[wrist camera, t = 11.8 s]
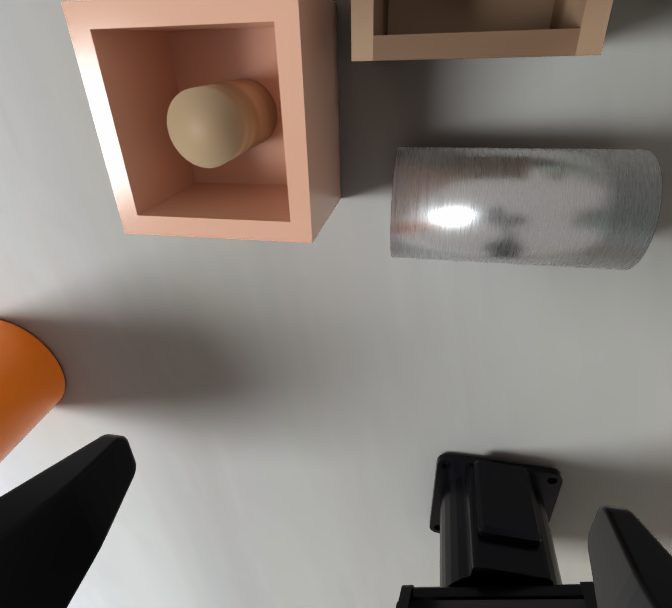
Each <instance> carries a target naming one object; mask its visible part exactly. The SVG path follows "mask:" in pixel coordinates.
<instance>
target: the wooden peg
mask: <svg viewBox="0 0 672 608" xmlns="http://www.w3.org/2000/svg"><path fill="white" fill-rule="evenodd" d="M276 123H277V108H276V104H275V101H274V99H273V97H272V95H271V94H270V92H269V91H268V90H267V89H266V88H265V87H264V86H263V85H262V84H260V83H259V82H257V81H254V80H251V79H237V80H232V81H226V82H221V83H216V84H210V85H205V86H199V87H194V88H189V89H186V90H184V91H182V92H180V93H179V94H178V95H176V96H175V98H174V99H173V100H172V102H171V104H170V106H169V109H168V113H167V128H168V132H169V136H170V138H171V141H172V143H173V145H174V146H175V148H176V149H177V151H178V152H179V153H180V154H181V155H182V156H183V157H184V158H185V159H186V160H188V161H189V162H191V163H192V164H194V165H197V166H199V167H204V168H214V167H218V166H221V165H223V164H225V163H226V162H228V161H230V160H232V159H233V158H235V157H237V156H239V155H241V154H242V153H244V152H246V151H248V150H249V149H251V148H253V147H255V146H257V145H258V144H260V143H262V142H264V141H265V140H267V139H268V138H269V137H270V136H271V135H272V133H273V131H274V129H275V127H276Z"/></svg>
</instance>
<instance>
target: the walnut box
mask: <svg viewBox="0 0 672 608" xmlns="http://www.w3.org/2000/svg"><path fill="white" fill-rule="evenodd" d="M612 4H613V0H351V61H383V60H423V59H463V58H503V57H542V56H582V55H601V52H602V47H603V43H604V39H605V34H606V30H607V26H608V22H609V17H610V13H611V9H612Z"/></svg>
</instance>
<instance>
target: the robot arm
mask: <svg viewBox="0 0 672 608" xmlns="http://www.w3.org/2000/svg"><path fill="white" fill-rule="evenodd" d="M445 463H448V464H445ZM135 471H136V462H135V459H134V456H133V453H132V451H131V448H130V445H129V442H128V440H127V439H126V438H125V437H124V436H119V435H112V434H107V435H103V436H101V437H100V438H98V439H96V440H94V441H93V442H91V443H89V444H88V445H86V446H84V447H83V448H81V449H79V450H78V451H76V452H74V453H73V454H71V455H69V456H68V457H66V458H64V459H63V460H61V461H59V462H58V463H56V464H54V465H53V466H51V467H49V468H48V469H46V470H44V471H43V472H41V473H39V474H38V475H36V476H34V477H33V478H31V479H29V480H28V481H26V482H24V483H23V484H21V485H19V486H18V487H16V488H14V489H13V490H11V491H9V492H8V493H6V494H4V495H3V496H1V497H0V608H67V606H68V605H69V603H70V601H71V599H72V598H73V596H74V594H75V592H76V591H77V589H78V587H79V585H80V584H81V582H82V580H83V578H84V577H85V575H86V573H87V571H88V570H89V568H90V566H91V564H92V563H93V561H94V559H95V557H96V555H97V554H98V552H99V550H100V548H101V546H102V544H103V542H104V540H105V538H106V536H107V534H108V532H109V530H110V527H111V525H112V523H113V521H114V519H115V516H116V514H117V512H118V510H119V508H120V505H121V503H122V501H123V499H124V497H125V494H126V492H127V490H128V488H129V486H130V484H131V481H132V479H133V477H134V474H135ZM561 484H562V477H561V473H560V472H559V471H558V470H556V469H553V468H546V467H538V466H531V465H523V464H516V463H508V462H501V461H493V460H486V459H478V458H471V457H463V456H456V455H448V454H443V455H440V456H439V457H438V459H437V465H436V473H435V482H434V490H433V498H432V507H431V515H430V529H431V530H432V531H434V532H436V533H440V587H414V586H413V585H402V588H401V592H400V597H399V601H398V602H397V605H396V608H672V556H671V555H670V554H669V552H668V551H667V550H666V549H665V548H664V547H663V546H662V545H661V544H660V543H659V541H658V540H657V539H656V538H655V537H654V536H653V535H652V534H651V533H650V532H649V530H648V529H647V528H646V527H645V526H644V525H643V524H642V523H641V522H640V521H639V519H638V518H637V517H636V516H635V515H634V514H633V513H632V512H630V511H629V510H627V509H624V508H618V507H611V506H602V507H601V508H600V509H599V510H598V513H597V515H596V517H595V520H594V522H593V525H592V527H591V530H590V532H589V535H588V551H589V557H590V563H591V569H592V576H593V582H594V583H593V582H580V584H566V585H562V581H561V576H560V572H559V567H558V563H557V558H556V554H555V549H554V545H553V540H552V536H551V531H550V527H549V521H550V518H551V515H552V512H553V509H554V506H555V503H556V500H557V497H558V493H559V490H560V487H561Z"/></svg>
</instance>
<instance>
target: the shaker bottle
mask: <svg viewBox="0 0 672 608" xmlns="http://www.w3.org/2000/svg"><path fill="white" fill-rule="evenodd" d="M64 392H65V378H64V375H63V372H62V369H61V367H60V365H59V363H58V361H57V360H56V358H55V357H54V356H53V354H52V353H51V352H50V350H49V349H48V348H47V347H46V346H45V345H44V344H43V343H42V342H41V341H39V340H38V339H37V338H36V337H34V336H33V335H32V334H30V333H29V332H27V331H26V330H24V329H22V328H20V327H18V326H16V325H14V324H12V323H9V322H5V321H2V320H0V462H1V461H2V460H3V459H4V458H5V457H6V456H7V455H8V454H9V453H10V452H11V451H12V450H13V449H14V448H15V447H16V446H17V445H18V443H19V442H20V441H21V440H22V439H23V438H24V437H25V436H26V435H27V434H28V433H29V432H30V431H31V430H32V429H33V428H34V427H35V426H36V425H37V424H38V423H39V422H40V421H41V420H42V419H43V418H44V417H45V415H46V414H47V413H48V412H49V411H50V410H51V409H52V408H53V407H54V406H55V405H56V404H57V403H58V402H59V401H60V400H61V398H62V396H63V394H64Z"/></svg>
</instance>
